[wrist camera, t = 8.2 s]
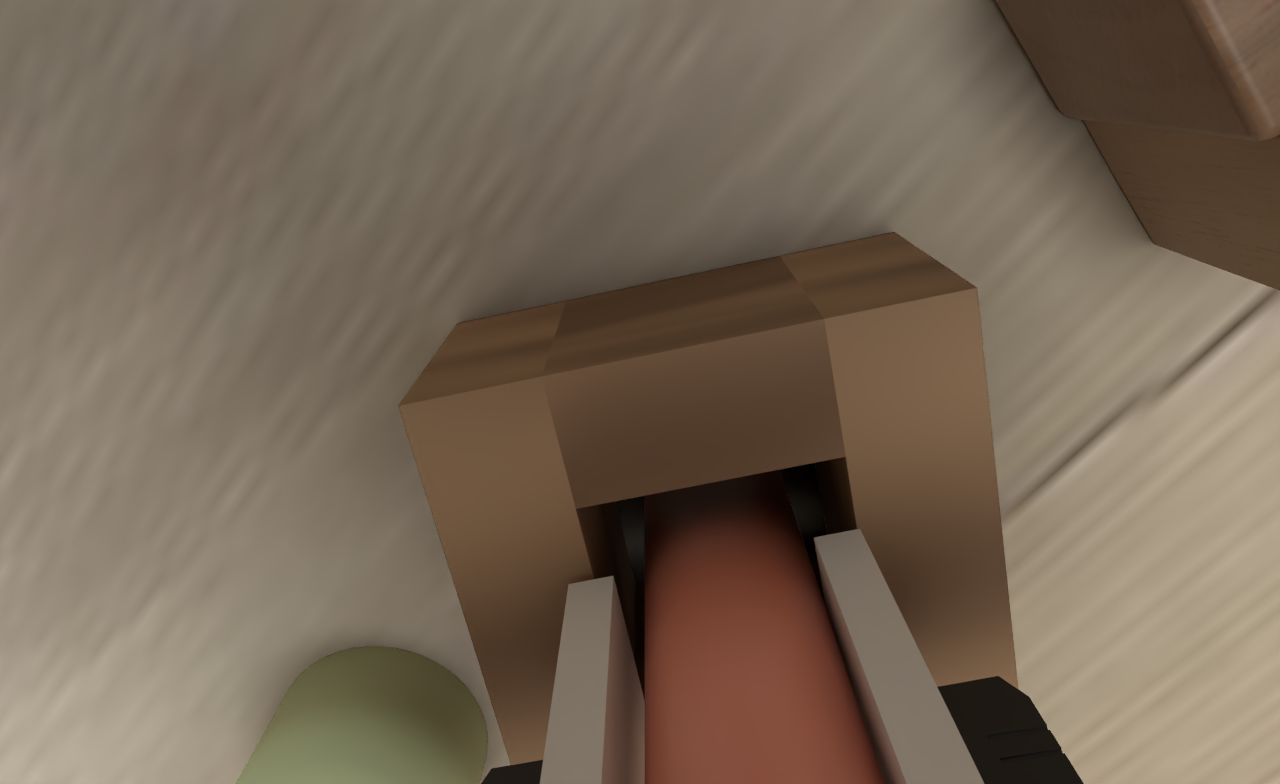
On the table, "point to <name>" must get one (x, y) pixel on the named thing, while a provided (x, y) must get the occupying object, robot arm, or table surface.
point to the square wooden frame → (716, 447)
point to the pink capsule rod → (742, 646)
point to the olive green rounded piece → (372, 725)
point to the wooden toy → (1175, 113)
